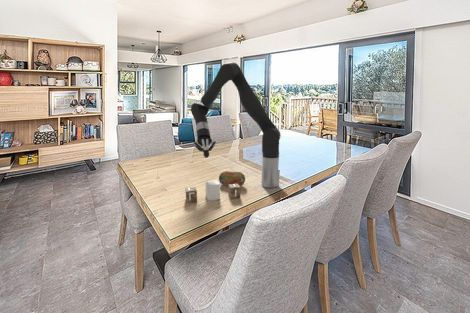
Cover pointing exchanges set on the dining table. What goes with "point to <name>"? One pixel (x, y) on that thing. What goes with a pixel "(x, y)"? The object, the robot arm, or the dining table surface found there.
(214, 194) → the plain block
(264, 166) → the robot arm
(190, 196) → the walnut block
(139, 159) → the dining table surface
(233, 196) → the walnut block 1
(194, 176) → the dining table surface
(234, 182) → the tin
